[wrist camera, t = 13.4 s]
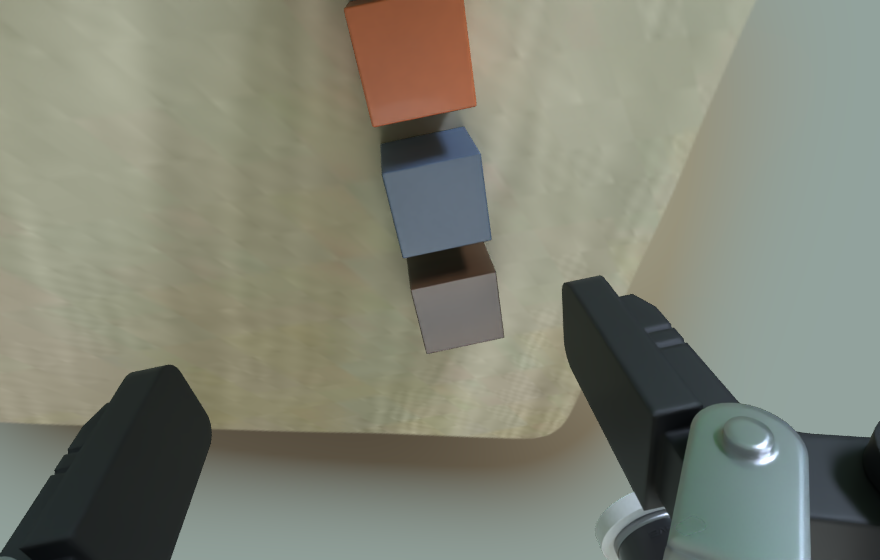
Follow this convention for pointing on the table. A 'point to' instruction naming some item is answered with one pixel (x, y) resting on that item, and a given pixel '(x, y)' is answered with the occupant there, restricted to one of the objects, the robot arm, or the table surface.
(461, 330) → the block
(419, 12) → the block
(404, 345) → the table surface
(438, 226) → the block
